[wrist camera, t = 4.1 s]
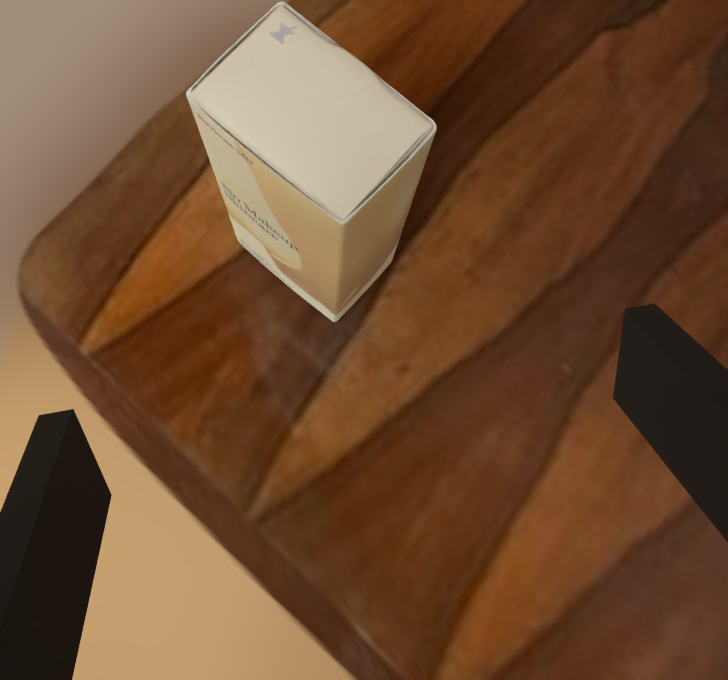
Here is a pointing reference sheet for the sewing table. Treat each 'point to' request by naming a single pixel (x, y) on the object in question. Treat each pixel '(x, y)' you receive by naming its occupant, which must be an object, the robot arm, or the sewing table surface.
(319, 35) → the cosmetic box
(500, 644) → the sewing table surface
